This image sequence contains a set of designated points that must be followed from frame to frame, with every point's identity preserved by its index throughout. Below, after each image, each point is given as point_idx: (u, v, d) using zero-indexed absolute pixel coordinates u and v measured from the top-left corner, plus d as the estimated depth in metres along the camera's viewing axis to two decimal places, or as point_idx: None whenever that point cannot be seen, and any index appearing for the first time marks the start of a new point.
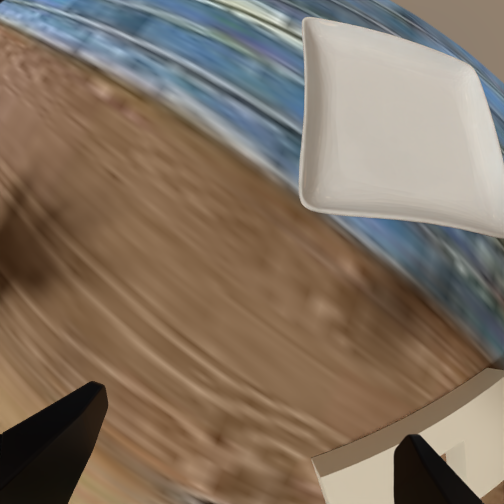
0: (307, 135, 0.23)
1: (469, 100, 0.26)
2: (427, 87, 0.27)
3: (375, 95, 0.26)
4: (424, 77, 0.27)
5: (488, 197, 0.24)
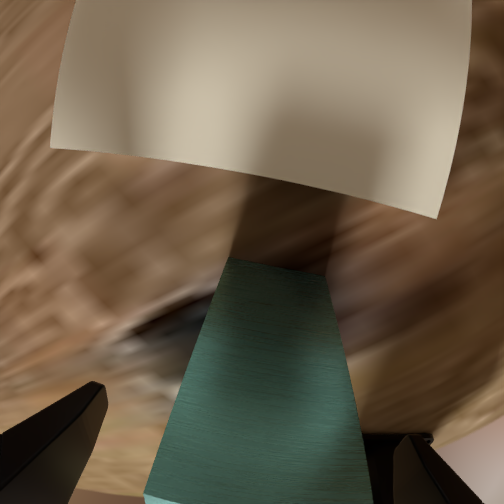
0: None
1: None
2: None
3: None
4: None
5: None
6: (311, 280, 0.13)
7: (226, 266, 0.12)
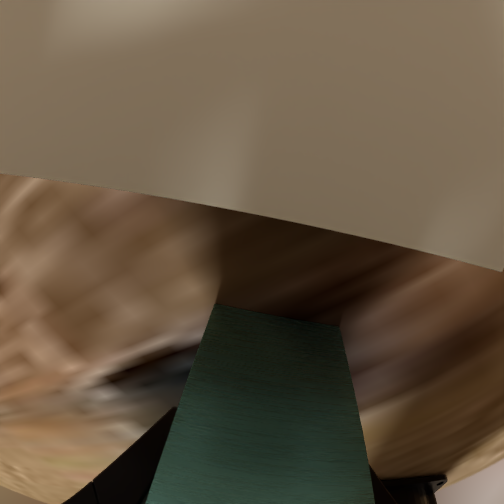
0: None
1: None
2: None
3: None
4: None
5: None
6: (322, 335, 0.09)
7: (211, 319, 0.09)
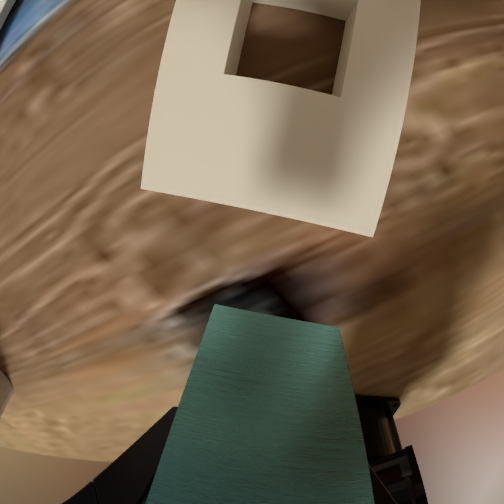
0: None
1: None
2: None
3: None
4: None
5: None
6: (322, 336, 0.09)
7: (211, 320, 0.09)
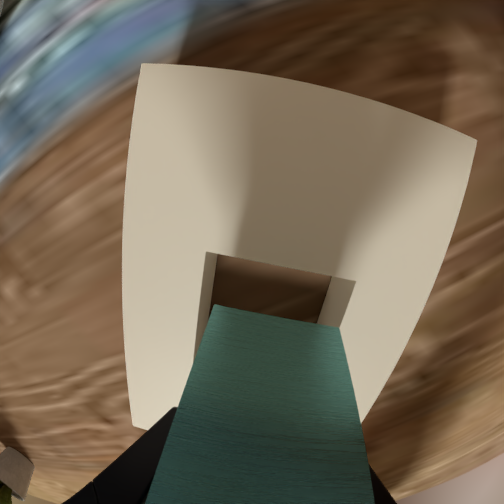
0: None
1: None
2: None
3: None
4: None
5: None
6: (322, 336, 0.09)
7: (210, 320, 0.09)
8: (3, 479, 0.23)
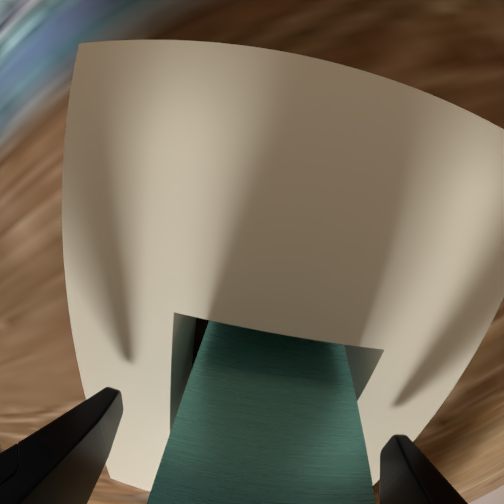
0: None
1: None
2: None
3: None
4: None
5: None
6: None
7: None
8: None
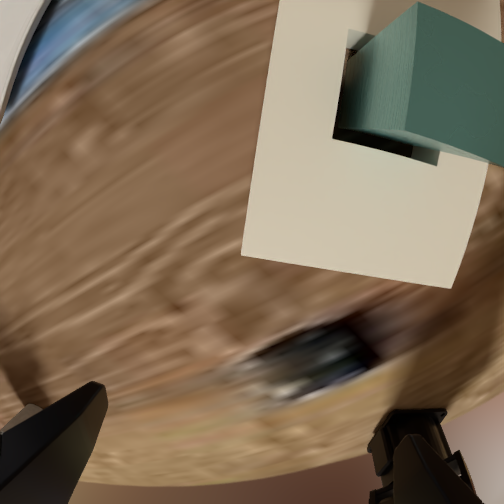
0: None
1: None
2: None
3: None
4: None
5: None
6: None
7: (351, 58, 0.14)
8: None
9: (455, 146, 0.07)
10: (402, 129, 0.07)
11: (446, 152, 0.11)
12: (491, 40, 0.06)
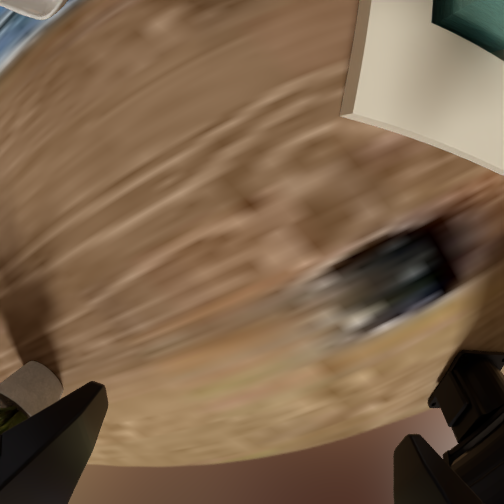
0: (7, 2, 0.12)
1: None
2: None
3: None
4: None
5: None
6: None
7: None
8: (18, 399, 0.21)
9: None
10: None
11: None
12: None
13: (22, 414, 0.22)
